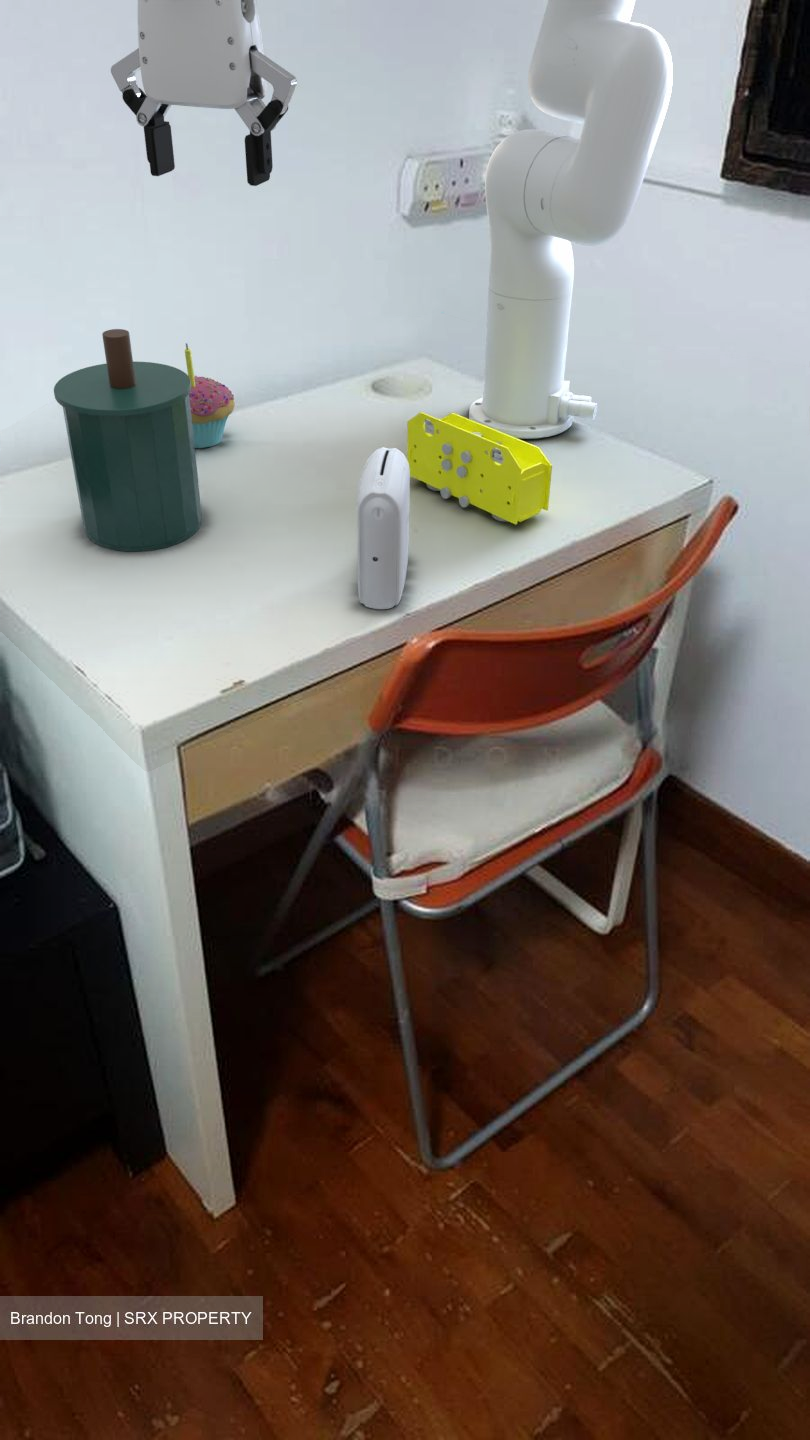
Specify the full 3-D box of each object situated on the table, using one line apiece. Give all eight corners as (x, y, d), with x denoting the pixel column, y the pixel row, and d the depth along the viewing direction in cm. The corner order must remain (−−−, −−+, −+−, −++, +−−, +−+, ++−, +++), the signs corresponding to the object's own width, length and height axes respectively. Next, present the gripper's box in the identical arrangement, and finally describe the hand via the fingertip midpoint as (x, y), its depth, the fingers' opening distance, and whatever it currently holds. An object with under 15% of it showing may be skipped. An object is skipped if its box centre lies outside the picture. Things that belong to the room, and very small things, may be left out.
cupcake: (231, 455, 130) (222, 350, 123) (156, 454, 130) (143, 349, 123) (241, 426, 137) (233, 325, 130) (170, 424, 137) (158, 323, 130)
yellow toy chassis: (403, 482, 125) (404, 408, 120) (440, 467, 128) (443, 395, 123) (512, 533, 115) (517, 455, 110) (549, 516, 119) (556, 439, 114)
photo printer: (401, 612, 103) (403, 485, 96) (354, 609, 103) (352, 482, 96) (411, 557, 111) (413, 436, 104) (367, 555, 111) (366, 434, 104)
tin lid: (201, 374, 113) (195, 312, 109) (180, 423, 103) (172, 357, 99) (73, 372, 113) (63, 310, 109) (40, 421, 103) (27, 355, 99)
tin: (209, 499, 121) (196, 369, 112) (191, 552, 111) (175, 414, 103) (99, 498, 121) (78, 367, 112) (72, 550, 111) (47, 412, 103)
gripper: (308, -51, 93) (315, 178, 103) (123, -58, 98) (148, 162, 108) (267, -46, 87) (279, 195, 97) (73, -54, 92) (104, 178, 102)
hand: (210, 177), depth 103 cm, fingers open, 9 cm apart
